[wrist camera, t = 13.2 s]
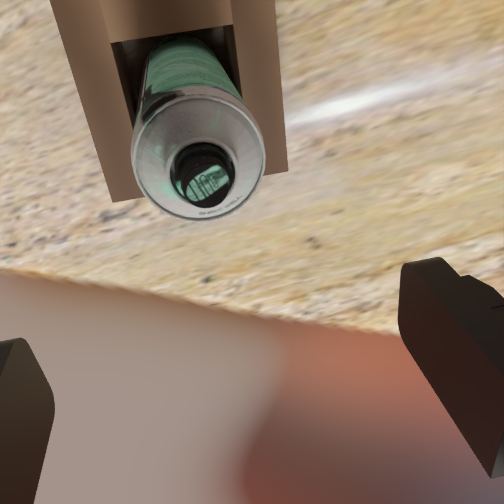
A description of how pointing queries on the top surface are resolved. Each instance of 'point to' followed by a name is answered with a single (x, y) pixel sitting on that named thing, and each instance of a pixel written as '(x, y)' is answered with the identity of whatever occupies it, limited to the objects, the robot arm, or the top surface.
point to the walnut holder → (161, 23)
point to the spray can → (194, 135)
